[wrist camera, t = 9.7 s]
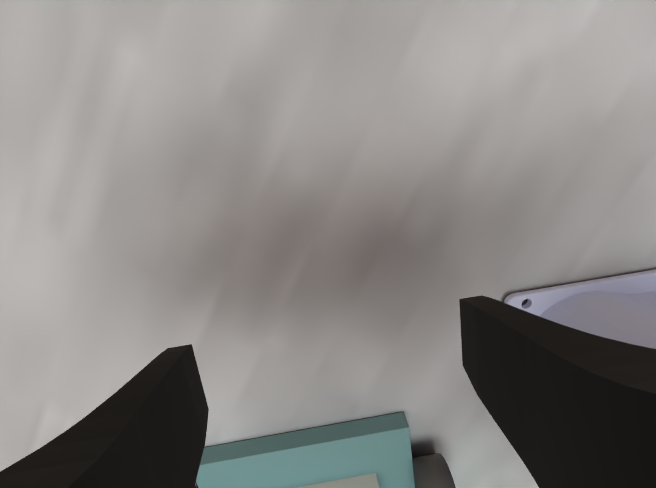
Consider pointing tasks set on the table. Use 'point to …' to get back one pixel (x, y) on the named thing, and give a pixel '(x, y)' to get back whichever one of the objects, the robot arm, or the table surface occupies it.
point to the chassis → (326, 459)
